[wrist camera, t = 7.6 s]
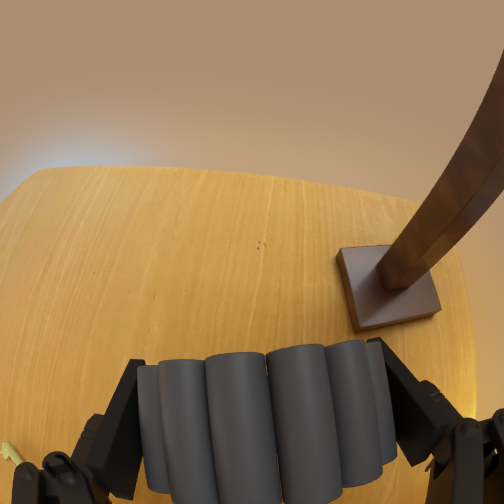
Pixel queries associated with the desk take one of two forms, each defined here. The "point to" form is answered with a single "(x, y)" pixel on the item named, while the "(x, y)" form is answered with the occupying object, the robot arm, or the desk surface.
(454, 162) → the brown pillar stand
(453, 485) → the robot arm
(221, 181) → the desk surface
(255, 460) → the grey cylinder ring
